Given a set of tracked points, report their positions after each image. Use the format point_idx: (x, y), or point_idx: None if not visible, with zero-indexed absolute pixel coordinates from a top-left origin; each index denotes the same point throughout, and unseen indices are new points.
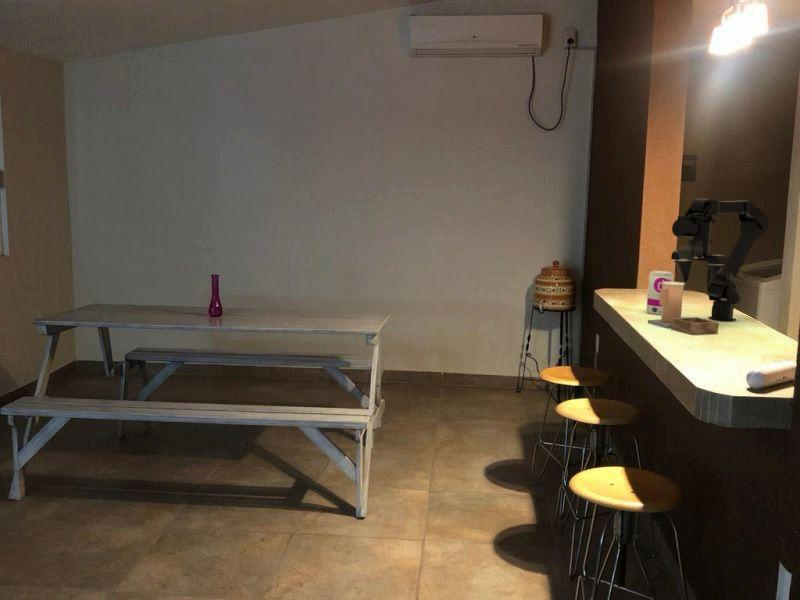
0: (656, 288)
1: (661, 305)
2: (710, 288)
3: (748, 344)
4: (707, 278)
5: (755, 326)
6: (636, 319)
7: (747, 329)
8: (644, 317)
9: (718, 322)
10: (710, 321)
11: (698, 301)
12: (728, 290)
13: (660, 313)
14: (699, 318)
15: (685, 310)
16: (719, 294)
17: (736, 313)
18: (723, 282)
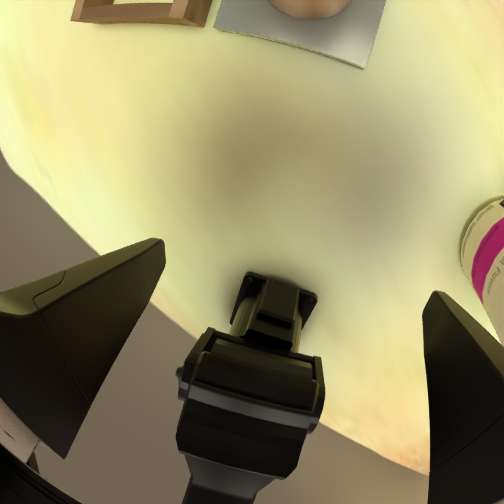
0: None
1: (499, 224)
2: (291, 380)
3: (11, 12)
4: (117, 260)
5: None
6: (478, 11)
7: (108, 196)
8: (494, 89)
9: (70, 20)
10: (96, 6)
11: (427, 451)
12: (183, 367)
13: (483, 209)
14: (153, 4)
15: None
16: (231, 345)
17: None
18: (193, 402)
